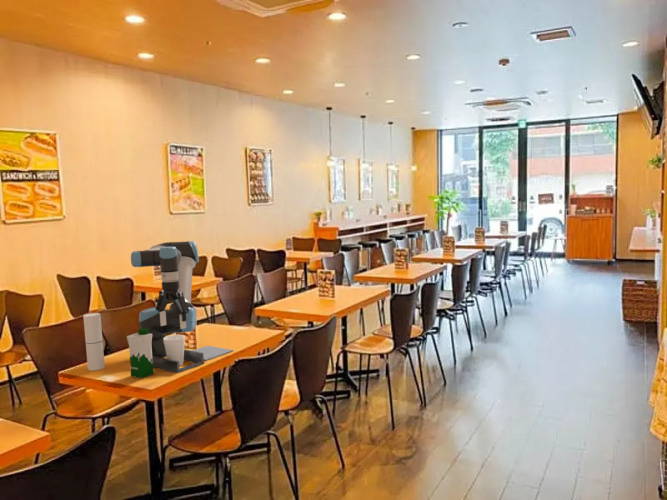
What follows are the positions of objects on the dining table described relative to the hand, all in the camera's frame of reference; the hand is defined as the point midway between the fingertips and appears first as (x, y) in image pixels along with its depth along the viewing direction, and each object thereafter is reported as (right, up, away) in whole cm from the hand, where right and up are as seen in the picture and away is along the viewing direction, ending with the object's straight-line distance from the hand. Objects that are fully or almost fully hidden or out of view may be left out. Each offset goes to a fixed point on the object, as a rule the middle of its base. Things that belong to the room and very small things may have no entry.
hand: (173, 326), depth 261 cm
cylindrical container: (-36, -19, +2) cm, 41 cm away
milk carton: (-10, -20, -11) cm, 25 cm away
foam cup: (+1, -18, +2) cm, 18 cm away
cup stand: (+1, -18, +2) cm, 18 cm away
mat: (+11, -16, +19) cm, 27 cm away
